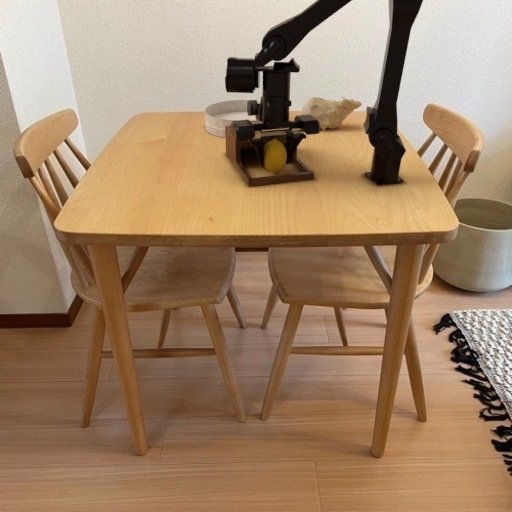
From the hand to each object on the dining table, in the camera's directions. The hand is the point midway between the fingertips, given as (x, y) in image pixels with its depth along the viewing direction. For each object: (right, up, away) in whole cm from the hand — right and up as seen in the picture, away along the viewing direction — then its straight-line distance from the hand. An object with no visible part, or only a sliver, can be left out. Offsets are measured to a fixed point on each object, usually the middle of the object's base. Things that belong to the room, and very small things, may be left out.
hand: (274, 165), depth 107 cm
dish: (-8, +17, +31) cm, 36 cm away
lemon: (0, -2, +1) cm, 2 cm away
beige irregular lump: (+17, +17, +32) cm, 40 cm away
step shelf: (-2, +1, +6) cm, 6 cm away
